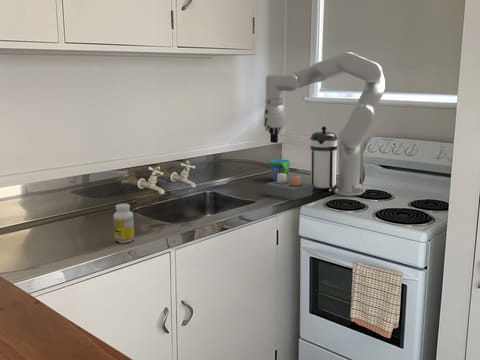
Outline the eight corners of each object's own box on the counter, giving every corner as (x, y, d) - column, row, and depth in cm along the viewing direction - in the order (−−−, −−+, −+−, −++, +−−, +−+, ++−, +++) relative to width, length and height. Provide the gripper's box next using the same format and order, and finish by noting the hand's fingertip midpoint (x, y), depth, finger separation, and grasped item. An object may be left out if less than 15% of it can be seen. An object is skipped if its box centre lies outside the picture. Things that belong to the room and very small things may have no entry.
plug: (288, 184, 251) (288, 174, 250) (282, 186, 248) (282, 175, 247) (281, 183, 254) (281, 173, 253) (275, 184, 251) (275, 174, 250)
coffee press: (346, 190, 256) (348, 126, 250) (317, 193, 250) (318, 128, 244) (327, 183, 272) (328, 123, 265) (299, 186, 266) (299, 125, 260)
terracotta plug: (302, 187, 245) (303, 176, 244) (296, 189, 242) (296, 178, 241) (295, 186, 248) (295, 175, 247) (289, 187, 245) (289, 176, 244)
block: (312, 195, 247) (312, 184, 246) (293, 200, 239) (293, 189, 238) (284, 189, 259) (284, 179, 258) (265, 194, 251) (265, 183, 250)
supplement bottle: (111, 240, 188) (109, 204, 185) (129, 237, 192) (127, 201, 189) (120, 245, 182) (117, 208, 180) (138, 241, 186) (135, 205, 184)
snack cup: (266, 177, 287) (265, 158, 285) (285, 176, 290) (285, 157, 287) (274, 183, 272) (274, 163, 270) (294, 182, 275) (294, 162, 272)
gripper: (268, 103, 239) (268, 145, 243) (291, 101, 249) (291, 141, 253) (256, 103, 245) (256, 143, 248) (279, 101, 254) (279, 140, 258)
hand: (274, 142), depth 251 cm, fingers closed
